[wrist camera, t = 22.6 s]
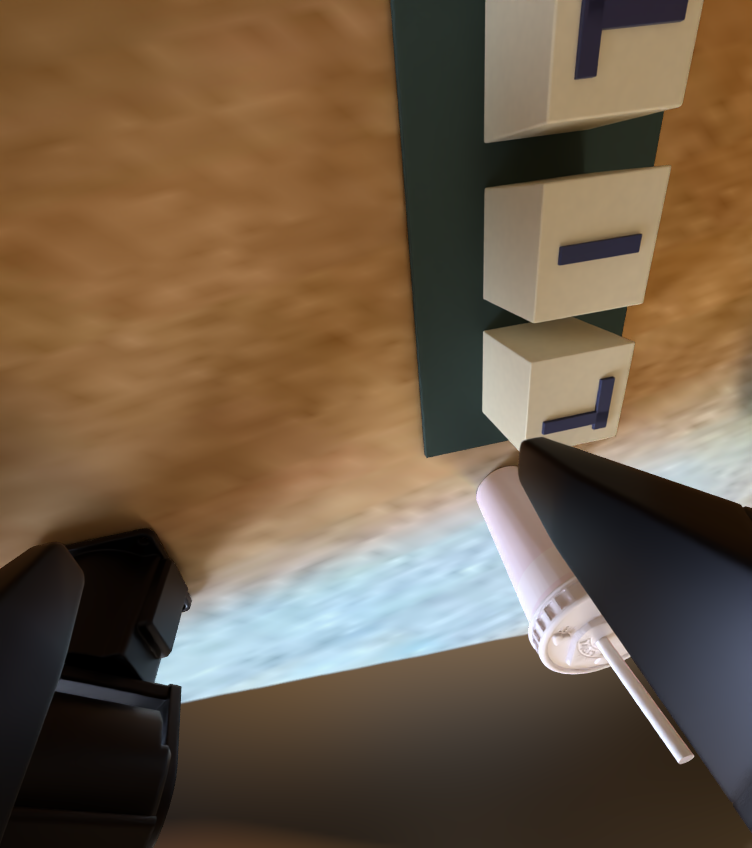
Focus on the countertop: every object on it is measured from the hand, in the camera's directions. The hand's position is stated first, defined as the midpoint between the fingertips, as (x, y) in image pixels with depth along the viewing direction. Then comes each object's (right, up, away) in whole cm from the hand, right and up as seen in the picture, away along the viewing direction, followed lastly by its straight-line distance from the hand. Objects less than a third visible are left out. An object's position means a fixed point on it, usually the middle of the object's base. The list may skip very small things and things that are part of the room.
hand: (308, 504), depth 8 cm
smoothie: (+9, -2, +18) cm, 20 cm away
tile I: (+8, +10, +10) cm, 16 cm away
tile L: (+9, +5, +13) cm, 16 cm away
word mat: (+8, +10, +10) cm, 16 cm away
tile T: (+7, +15, +7) cm, 18 cm away
